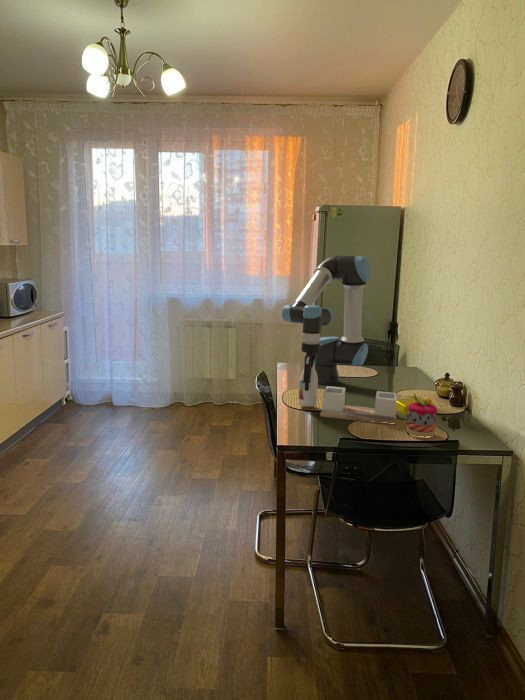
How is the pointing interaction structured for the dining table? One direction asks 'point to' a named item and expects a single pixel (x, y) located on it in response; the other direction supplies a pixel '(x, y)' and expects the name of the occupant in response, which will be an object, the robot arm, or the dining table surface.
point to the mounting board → (357, 414)
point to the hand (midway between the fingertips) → (308, 395)
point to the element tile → (406, 403)
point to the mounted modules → (336, 400)
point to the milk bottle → (313, 389)
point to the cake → (421, 417)
